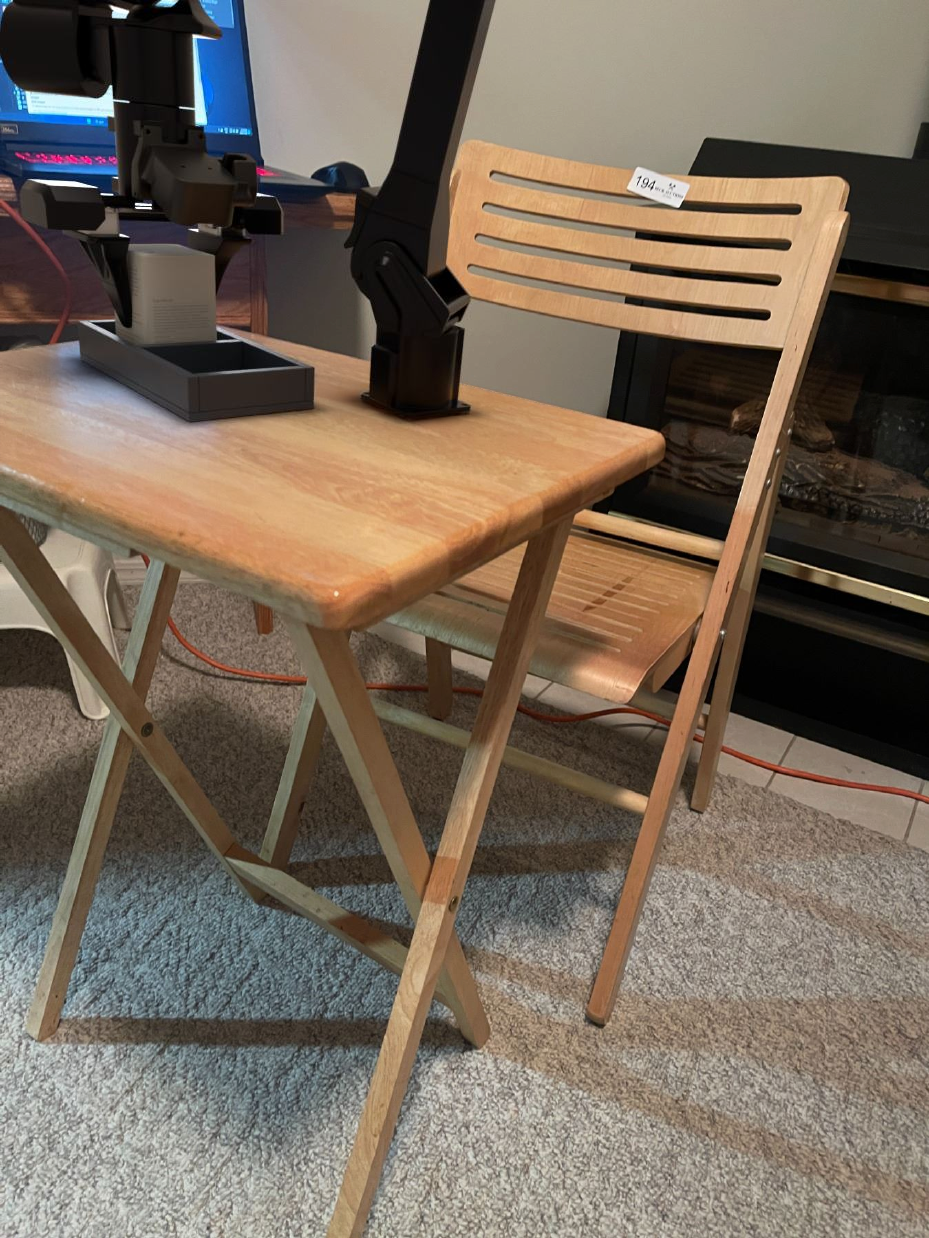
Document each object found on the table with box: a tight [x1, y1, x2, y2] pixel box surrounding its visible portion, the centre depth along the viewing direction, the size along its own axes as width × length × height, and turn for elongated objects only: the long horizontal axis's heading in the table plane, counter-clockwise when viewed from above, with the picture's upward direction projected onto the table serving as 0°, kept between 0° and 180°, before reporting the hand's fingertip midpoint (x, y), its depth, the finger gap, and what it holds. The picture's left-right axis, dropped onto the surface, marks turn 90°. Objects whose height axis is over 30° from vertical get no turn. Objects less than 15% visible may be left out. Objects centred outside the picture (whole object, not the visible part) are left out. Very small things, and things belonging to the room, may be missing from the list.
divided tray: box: [76, 319, 316, 423], centre depth 73 cm, size 10×19×3 cm, turn 41°
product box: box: [113, 243, 218, 345], centre depth 74 cm, size 6×6×7 cm
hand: (165, 325), depth 75 cm, fingers closed on product box, 6 cm apart
